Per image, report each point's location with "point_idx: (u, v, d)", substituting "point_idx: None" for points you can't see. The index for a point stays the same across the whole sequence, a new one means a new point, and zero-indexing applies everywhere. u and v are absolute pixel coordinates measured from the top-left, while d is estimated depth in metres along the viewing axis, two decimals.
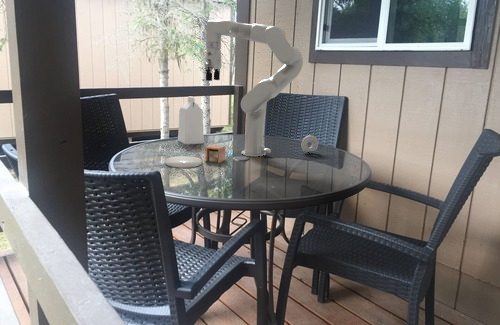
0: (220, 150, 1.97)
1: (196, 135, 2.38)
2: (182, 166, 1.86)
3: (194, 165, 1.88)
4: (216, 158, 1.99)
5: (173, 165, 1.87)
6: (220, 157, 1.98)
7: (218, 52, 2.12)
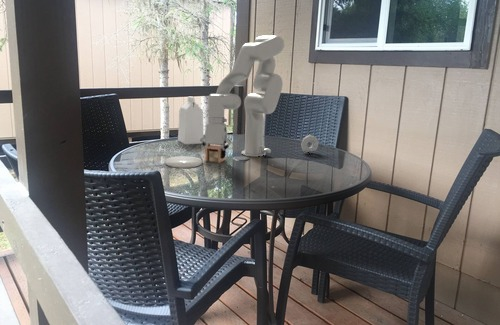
0: (220, 150, 1.97)
1: (196, 135, 2.38)
2: (182, 166, 1.86)
3: (194, 165, 1.88)
4: (216, 158, 1.99)
5: (173, 165, 1.87)
6: (220, 157, 1.98)
7: None
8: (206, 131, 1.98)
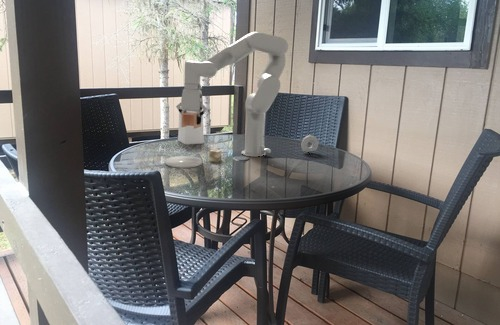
0: (196, 116, 2.03)
1: (196, 135, 2.38)
2: (182, 166, 1.86)
3: (194, 165, 1.88)
4: (216, 158, 1.99)
5: (173, 165, 1.87)
6: (196, 123, 2.04)
7: None
8: (182, 97, 2.03)
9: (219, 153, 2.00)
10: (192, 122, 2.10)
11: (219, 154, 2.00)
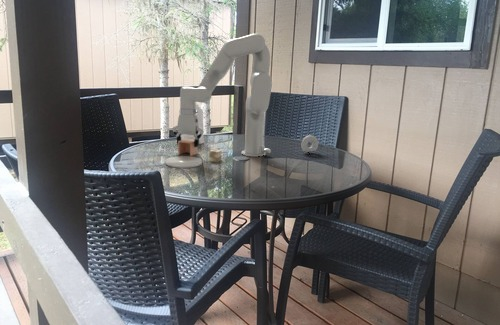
0: (192, 144, 2.08)
1: None
2: (182, 166, 1.86)
3: (194, 165, 1.88)
4: (216, 158, 1.99)
5: (173, 165, 1.87)
6: (192, 150, 2.09)
7: None
8: (178, 122, 2.08)
9: (219, 153, 2.00)
10: (189, 149, 2.15)
11: (219, 154, 2.00)
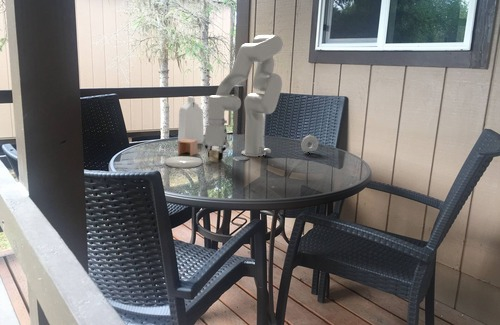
0: (192, 144, 2.08)
1: (196, 135, 2.38)
2: (182, 166, 1.86)
3: (194, 165, 1.88)
4: (216, 158, 1.99)
5: (173, 165, 1.87)
6: (192, 150, 2.09)
7: None
8: (206, 132, 1.98)
9: None
10: (189, 149, 2.15)
11: None
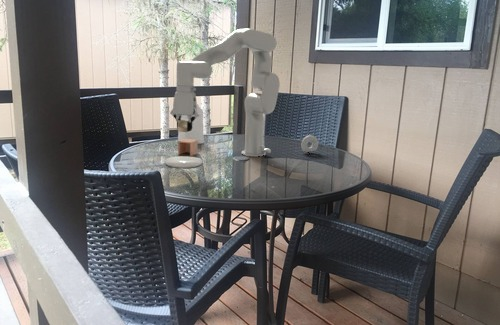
0: (192, 144, 2.08)
1: (196, 135, 2.38)
2: (182, 166, 1.86)
3: (194, 165, 1.88)
4: (185, 128, 1.88)
5: (173, 165, 1.87)
6: (192, 150, 2.09)
7: None
8: (174, 101, 1.87)
9: None
10: (189, 149, 2.15)
11: None
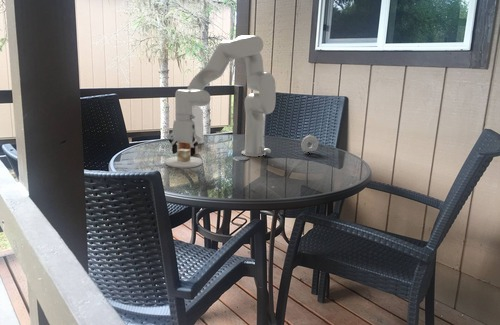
0: None
1: None
2: (182, 166, 1.86)
3: (194, 165, 1.88)
4: (184, 158, 1.91)
5: (173, 165, 1.87)
6: None
7: None
8: (173, 128, 1.90)
9: (188, 153, 1.93)
10: (189, 149, 2.15)
11: (187, 154, 1.92)
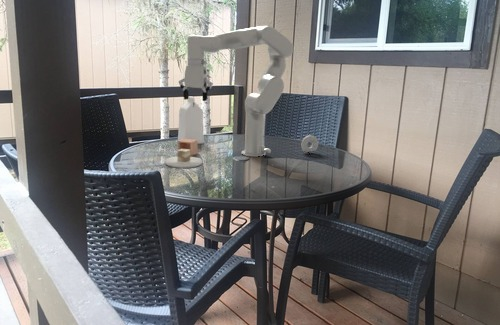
0: (192, 144, 2.08)
1: (196, 135, 2.38)
2: (182, 166, 1.86)
3: (194, 165, 1.88)
4: (184, 158, 1.91)
5: (173, 165, 1.87)
6: (192, 150, 2.09)
7: None
8: (185, 74, 1.95)
9: (188, 153, 1.93)
10: (189, 149, 2.15)
11: (187, 154, 1.92)
